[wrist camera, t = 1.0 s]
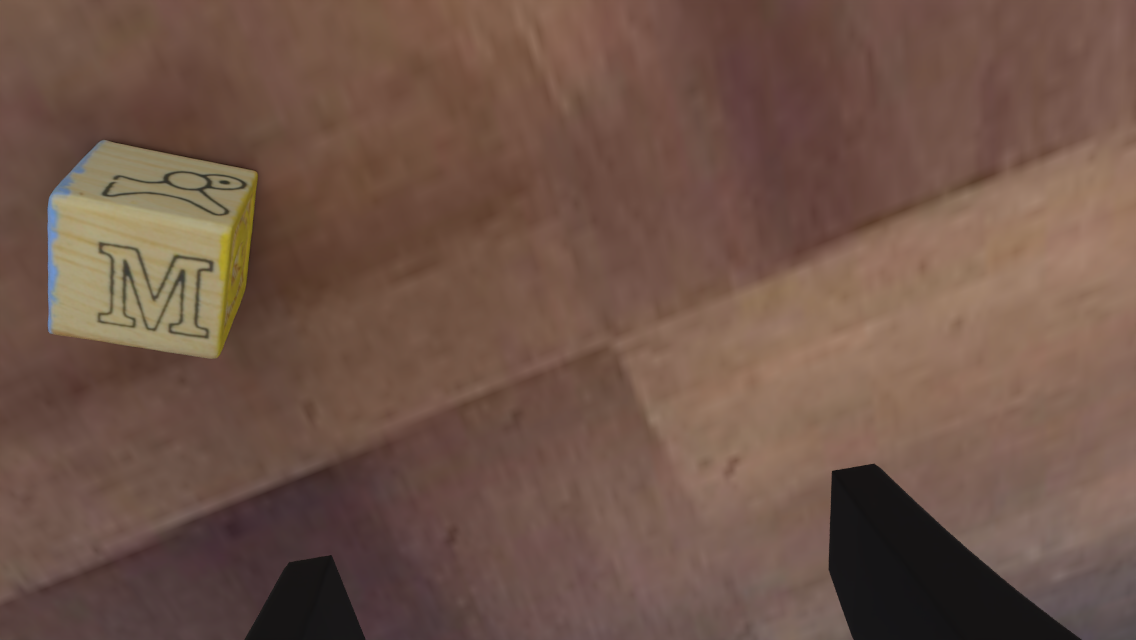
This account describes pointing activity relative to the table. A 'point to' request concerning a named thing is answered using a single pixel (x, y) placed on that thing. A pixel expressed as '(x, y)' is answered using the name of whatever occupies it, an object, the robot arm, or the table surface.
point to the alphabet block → (149, 249)
